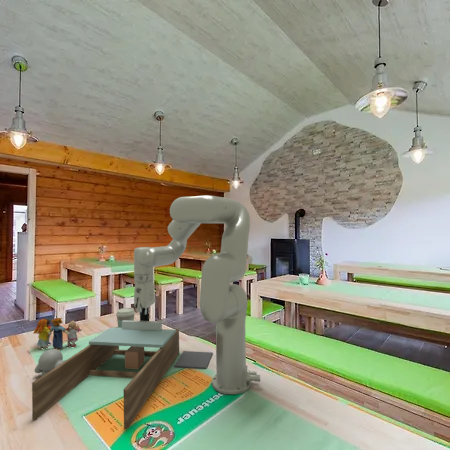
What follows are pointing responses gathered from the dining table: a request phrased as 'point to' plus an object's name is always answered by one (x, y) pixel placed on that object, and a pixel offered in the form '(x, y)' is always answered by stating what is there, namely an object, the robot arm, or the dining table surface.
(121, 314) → the coffee cup
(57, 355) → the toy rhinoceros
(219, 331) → the robot arm
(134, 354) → the terracotta block
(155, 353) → the wooden shelf frame
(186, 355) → the rubber mat
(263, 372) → the dining table surface
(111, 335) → the sliding cover
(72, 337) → the doll family
